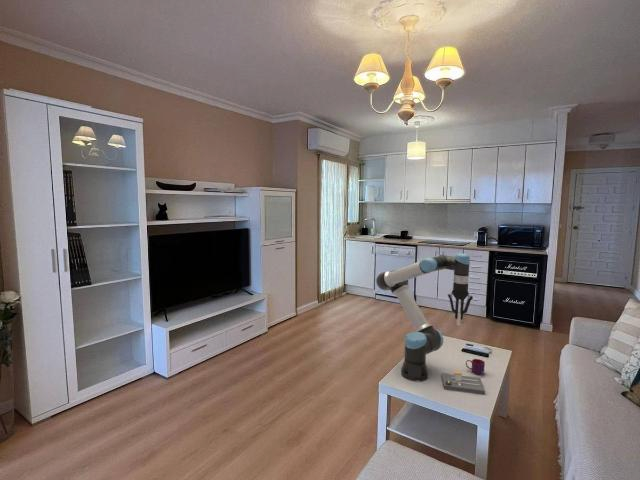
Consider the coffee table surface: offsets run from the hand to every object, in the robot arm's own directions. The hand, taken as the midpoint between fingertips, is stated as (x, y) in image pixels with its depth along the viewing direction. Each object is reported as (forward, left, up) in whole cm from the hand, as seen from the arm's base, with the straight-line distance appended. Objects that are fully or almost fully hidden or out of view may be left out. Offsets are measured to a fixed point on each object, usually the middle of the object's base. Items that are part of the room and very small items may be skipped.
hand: (458, 324), depth 190 cm
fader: (0, -5, -29) cm, 30 cm away
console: (+3, -5, -32) cm, 32 cm away
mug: (+12, +13, -32) cm, 36 cm away
